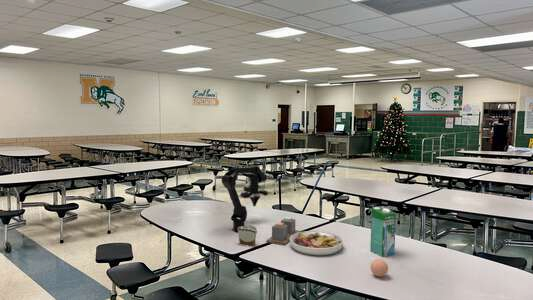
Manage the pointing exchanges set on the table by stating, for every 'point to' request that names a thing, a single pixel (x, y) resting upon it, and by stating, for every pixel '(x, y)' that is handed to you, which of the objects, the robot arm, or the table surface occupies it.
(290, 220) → the sage button
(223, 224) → the table surface
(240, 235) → the food container
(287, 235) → the walnut board
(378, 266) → the toy ball
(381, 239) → the milk carton
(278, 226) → the terracotta button
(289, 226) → the button posts
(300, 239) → the bowl
